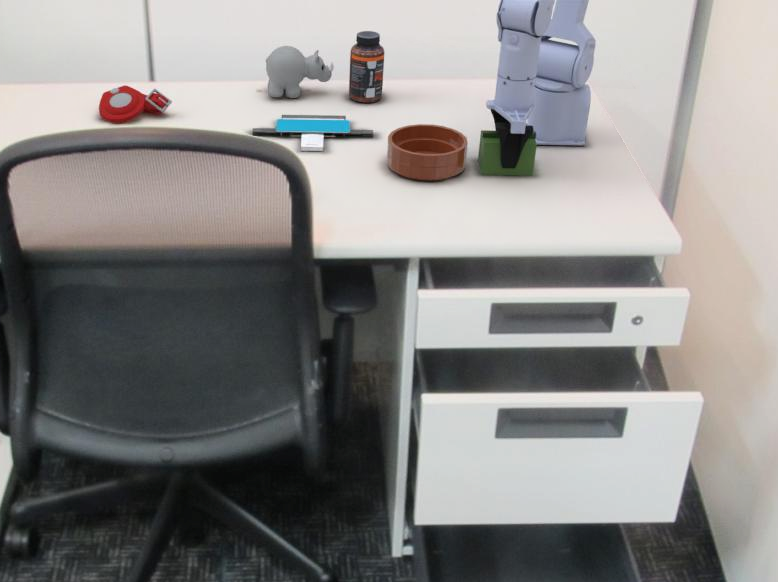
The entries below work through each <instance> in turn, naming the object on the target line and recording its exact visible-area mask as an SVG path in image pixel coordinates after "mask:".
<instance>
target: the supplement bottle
mask: <svg viewBox="0 0 778 582" xmlns="http://www.w3.org/2000/svg"><path fill="white" fill-rule="evenodd" d="M380 38H381V35H380V33H379V32H376V31H374V30H373V31H372V30H363V31H359V32H357V33H356V39H355V41H356V43H355V44H353V45H352V46H351V48H350V52H349V53H350V54H349V77H348V78H349V79H348V82H349V84H348V96H349V98H350V99H351V100H353V101H355V102H358V103H375V102H377V101H379V100H381V99H382V97H383V86H384V85H383V84H384V70H385V69H384V68H385V67H384V66H385V48H384V47H383V46H382V45H381V44H380V41H381V39H380Z"/></svg>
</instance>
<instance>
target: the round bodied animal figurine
mask: <svg viewBox="0 0 778 582" xmlns="http://www.w3.org/2000/svg"><path fill="white" fill-rule="evenodd" d="M265 71H266V74H267V76H268V78H269V79H268V81H267V89H268V94H269V95H268V96H270V97H271V98H280V97H282V96H284V93H285V96H286V97H287V98H289V99H296V98H299V97H300V96H301V87H300V84H301V83H302V82H303V81H304V79H305V78H307V79H308V80H318V81H319V82H321V83H327V82H329V81H330V80H331V78H332V73H333V71H334V63H333V61H330V66H329V65H328V64H326V63H325V62H324V59H323V58H322V57H321V56H320V55H319V50H318V49H317V50H315V52H314V53H313V54H312V55H309V56H305V55H304V54H303V53H302V52H301V51H300V50H299V49H298V48H296V47H294V46H292V45H282V46H279V47H277V48H275V49H274V50H272V51H271V52H270V54H269V55H268V56H267V57H266V59H265Z"/></svg>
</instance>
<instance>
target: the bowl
mask: <svg viewBox="0 0 778 582" xmlns="http://www.w3.org/2000/svg"><path fill="white" fill-rule="evenodd" d="M386 147H387V148H386V165H387V166H388V167H389V168H390V170H391V171H393V172H395V173H397V174H398V175H400V176H402V177H404V178H407V179H411V180H416V181H425V182H426V181H427V182H428V181H429V182H430V181H432V182H435V181H441V180H446V179H449V178H451V177H455V176H457V175H459V174H460V173H462V172H463V171H464V169H465V167H466V163H467V153H468V139H467V136H466V135H464V134H463V133H462V132H461V131H458V130H456V129H454V128H452V127H447V126H444V125H438V124H427V123H426V124H425V123H423V124H421V123H419V124H410V125H405V126H401V127H398V128H396V129H394V130H392V131H391V132H390V133H389V134H388V136H387V145H386Z"/></svg>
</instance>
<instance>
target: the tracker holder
mask: <svg viewBox="0 0 778 582" xmlns="http://www.w3.org/2000/svg"><path fill="white" fill-rule="evenodd" d="M172 103H173V100H171V99H170V98H169V97H167V96H166V95H164V93H162V92H161V91H160V90H158V89H157V88H153V89H152V90H151V91H150V92H149V93H148V95H147V94H144V93H142V92H141V91H139V90H138V89H136V88H133V87H131V86H129V85H126V84H125V85H122V86H118V87H114V88H112V89H110V90H107V91H104V92H103V93H102V94H101V98H100V100H99V104H98V114H99V116H100V118H101V119H102V120H104V121H105V122H107V123H112V124H122V123H123V124H124V123H128V122H130V121H132V120H134V119H137V117H139V116H140V115H141V114H142V113H146V114H151V115H162V114H163V113H164V112H165V111H166V110H167V109H168V108H169V106H170V105H171V104H172Z"/></svg>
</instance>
